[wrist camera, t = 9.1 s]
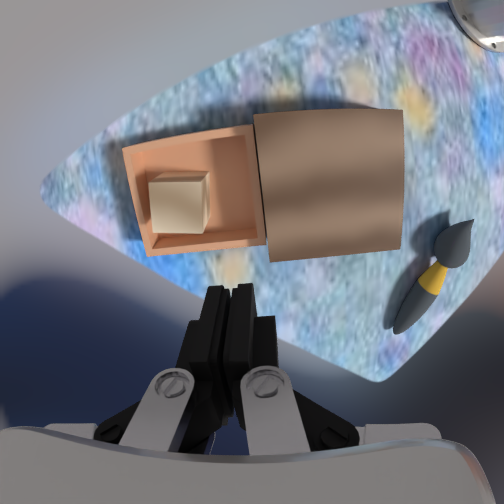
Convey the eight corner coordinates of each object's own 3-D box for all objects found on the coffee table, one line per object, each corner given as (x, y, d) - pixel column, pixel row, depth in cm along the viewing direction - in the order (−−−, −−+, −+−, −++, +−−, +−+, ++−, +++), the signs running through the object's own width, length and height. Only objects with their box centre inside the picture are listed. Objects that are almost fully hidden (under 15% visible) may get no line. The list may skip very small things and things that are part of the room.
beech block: (200, 181, 27) (209, 171, 31) (148, 182, 27) (163, 171, 31) (202, 233, 29) (210, 216, 33) (152, 232, 29) (166, 215, 33)
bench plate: (254, 114, 29) (253, 114, 24) (379, 108, 28) (402, 109, 23) (268, 238, 35) (269, 262, 30) (380, 227, 34) (400, 249, 29)
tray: (136, 143, 31) (121, 148, 27) (253, 123, 30) (252, 125, 26) (157, 241, 36) (147, 256, 32) (265, 230, 35) (266, 244, 31)
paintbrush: (410, 331, 42) (422, 352, 37) (385, 327, 41) (395, 350, 37) (467, 213, 33) (488, 227, 29) (442, 202, 33) (463, 216, 28)
